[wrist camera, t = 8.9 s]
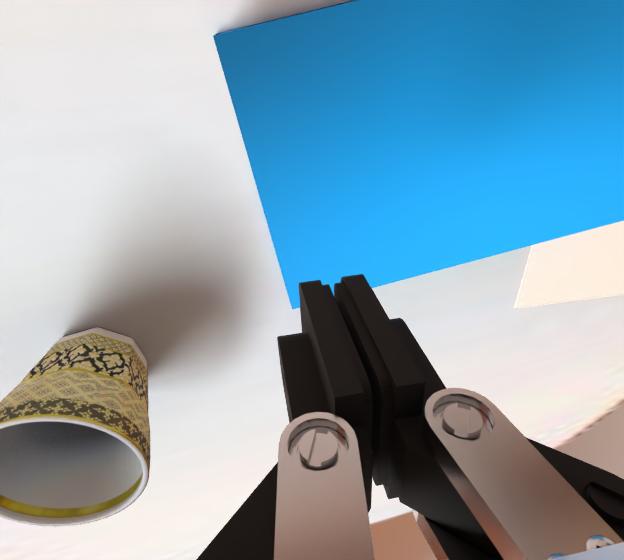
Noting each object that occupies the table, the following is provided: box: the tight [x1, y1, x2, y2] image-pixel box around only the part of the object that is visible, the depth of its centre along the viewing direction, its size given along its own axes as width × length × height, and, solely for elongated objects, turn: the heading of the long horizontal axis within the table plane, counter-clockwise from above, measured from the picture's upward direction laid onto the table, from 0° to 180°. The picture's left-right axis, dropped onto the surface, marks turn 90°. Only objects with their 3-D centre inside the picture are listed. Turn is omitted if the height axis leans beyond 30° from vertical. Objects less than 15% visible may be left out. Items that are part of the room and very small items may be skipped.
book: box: [213, 0, 624, 309], centre depth 26 cm, size 17×4×25 cm
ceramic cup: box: [0, 327, 150, 526], centre depth 28 cm, size 13×10×10 cm
